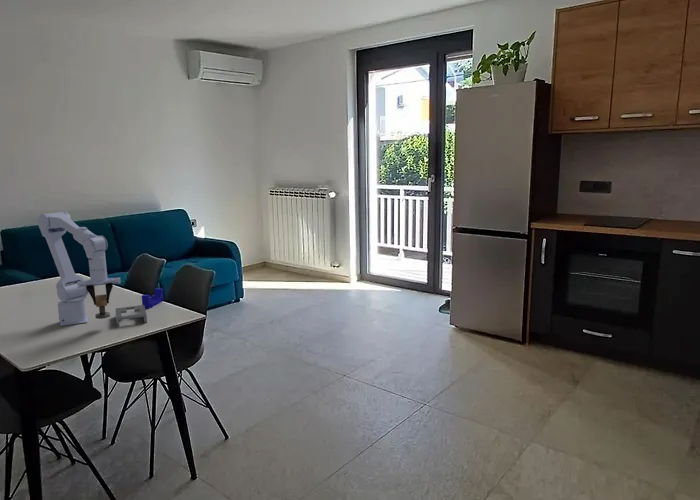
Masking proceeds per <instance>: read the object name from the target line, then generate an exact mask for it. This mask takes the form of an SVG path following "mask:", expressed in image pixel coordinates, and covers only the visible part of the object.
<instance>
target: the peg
mask: <svg viewBox="0 0 700 500" xmlns="http://www.w3.org/2000/svg"><path fill="white" fill-rule="evenodd" d="M95 298H96V305H95V307H96V308H98V311H99V312H98V313H95V319H98V320H100V319H101V320H102V319H107V318H109V317H111V313H110V312H109V311H106V306H108V304H107V296H106V294H97V295H96V294H95Z"/></svg>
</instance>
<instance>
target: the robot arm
mask: <svg viewBox="0 0 700 500" xmlns="http://www.w3.org/2000/svg"><path fill="white" fill-rule="evenodd" d="M37 225H38V228H39V230H40V233H41V236H42V237H44V238H45V240H46V243H47V245H48V249H49V250H50V253H51V256H52V258H53V261H54V265H55V267H56V269H57V272H58V274H59V278H60V279H59V280H58V282H57V283H55V288H56V291H57V292H56V294H57V297H58V299H59V300H60V301H58V302H57V311H58V321H59V326H60V327H62V326H71V325H77V324H84V323H85V324H87V323H88V320H89V316H88V315H87V312H86V303H85V299H86V298H87V296H88V295H90V297H91V299H92V301H93V305H94V306H96V298H95V297H96V292H95V290H96V289H95V286H105V293H106V298H107V305H108V304H110V296H111V292H112V290H113V287H114V285H115V284H118V285H119V284H121V282H122V281H121V277H108V272H107V260H106V259H107V258H106V251H107V249H108V247H109V244H108V243H109V242H108V240H107V239H106V238H105V236H104V235H97V234H95V233H93V232H92V231H90V230H89V229H88V227H86V226H79V225H78V224H76V223H75V222H74V221H73V220H72V217H71V214H70V213H68V212H67V211H60V212H51V213H40V214H39V216H38V218H37ZM66 232H68V233H70V234H72V237H73V239H74V240H75V241H77V242H78V243H79V244H80V245H82V246H83V249H84V251H85V256H86V258H88V267H89V276H90V279H87V280H84V277H82V276H81V275H78V274H76V272H75V270H74V268H73V265H72V262H71V259H70V257H69V254H68V251H67V248H66V247H65V246H66V245H65V243H64V240H63V238H62V236H64V235H65V234H66Z"/></svg>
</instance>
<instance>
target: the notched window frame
mask: <svg viewBox="0 0 700 500" xmlns="http://www.w3.org/2000/svg"><path fill="white" fill-rule="evenodd" d="M129 310H134V312H139V314H131V315H123V316H122V314H127V311H129ZM146 310H147V309H145V306H144V305H142V304H141V305H140V304H139V305H132V306H125V307H116V308H115V322H116V327H117V328H119V327H120V320H121V321H122V320H130V319H136V318H143V324H147V323H148V318H147V316H148V315H147V311H146Z"/></svg>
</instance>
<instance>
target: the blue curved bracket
mask: <svg viewBox="0 0 700 500" xmlns="http://www.w3.org/2000/svg"><path fill="white" fill-rule="evenodd" d="M164 299H165V298H164V289H163V288H158V287H157V288H154V294H153V295H150V294H142V295H141V305H144V306H145V310H150V309H152V308H153V306H154V307H155V306H157V305H159V304H161V303H162V302H165V300H164Z"/></svg>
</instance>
